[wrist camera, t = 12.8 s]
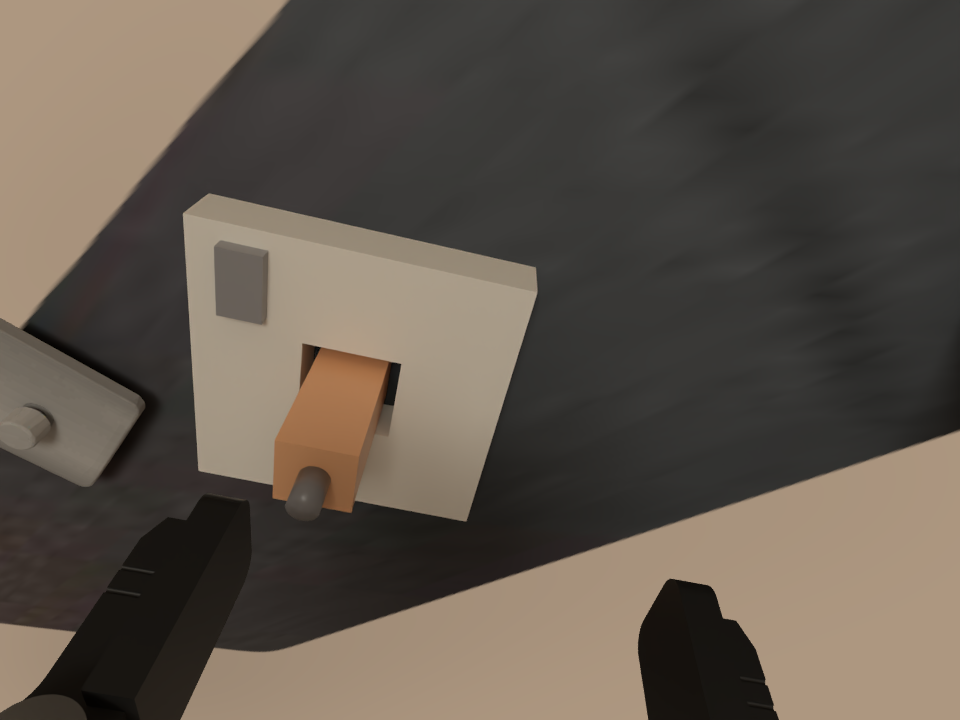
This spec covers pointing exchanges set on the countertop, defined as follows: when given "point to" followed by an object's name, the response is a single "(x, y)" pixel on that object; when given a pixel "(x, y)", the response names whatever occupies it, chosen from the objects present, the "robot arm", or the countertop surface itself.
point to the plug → (329, 433)
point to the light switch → (60, 409)
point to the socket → (350, 344)
